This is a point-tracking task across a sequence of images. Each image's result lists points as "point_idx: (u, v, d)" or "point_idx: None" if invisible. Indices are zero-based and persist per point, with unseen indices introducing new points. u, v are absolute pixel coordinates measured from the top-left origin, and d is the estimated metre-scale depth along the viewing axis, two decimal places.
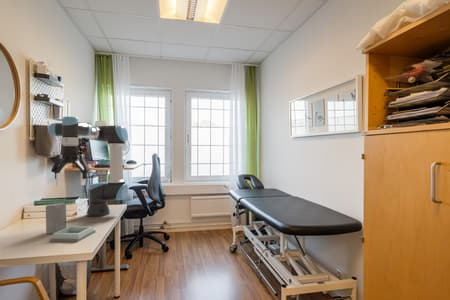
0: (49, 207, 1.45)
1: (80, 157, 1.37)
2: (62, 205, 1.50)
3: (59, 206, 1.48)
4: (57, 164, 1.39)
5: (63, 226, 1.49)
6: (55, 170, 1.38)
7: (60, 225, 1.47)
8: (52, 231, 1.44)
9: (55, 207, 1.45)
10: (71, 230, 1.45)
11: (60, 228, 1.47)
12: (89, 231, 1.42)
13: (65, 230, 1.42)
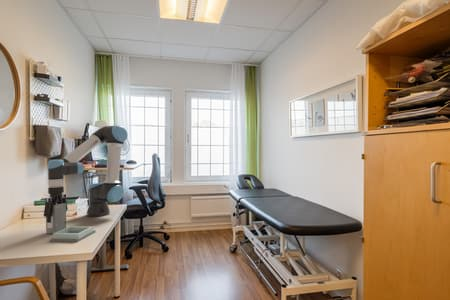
0: None
1: None
2: (62, 205, 1.50)
3: (59, 206, 1.48)
4: None
5: (63, 226, 1.49)
6: None
7: (60, 225, 1.47)
8: (53, 230, 1.44)
9: (55, 207, 1.45)
10: (71, 230, 1.45)
11: (60, 228, 1.47)
12: (89, 231, 1.42)
13: (65, 230, 1.42)
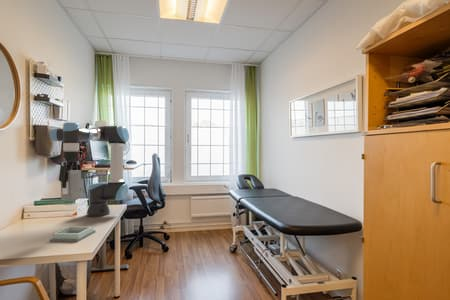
0: None
1: None
2: (77, 171, 1.41)
3: (74, 172, 1.39)
4: None
5: (78, 194, 1.41)
6: None
7: (75, 192, 1.39)
8: (68, 197, 1.36)
9: (70, 172, 1.36)
10: (71, 230, 1.45)
11: (76, 195, 1.39)
12: (89, 231, 1.42)
13: (65, 230, 1.42)
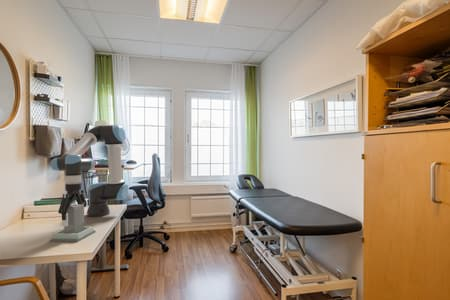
0: None
1: None
2: (80, 206, 1.41)
3: (78, 207, 1.39)
4: (81, 199, 1.47)
5: (81, 229, 1.41)
6: None
7: (79, 227, 1.39)
8: None
9: (74, 208, 1.37)
10: None
11: (79, 231, 1.39)
12: (89, 231, 1.42)
13: None
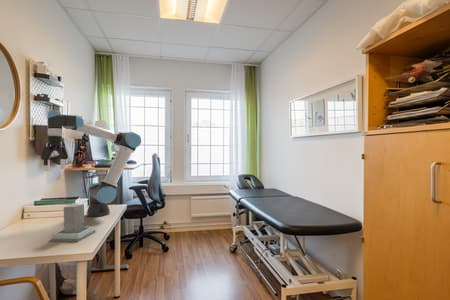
0: (67, 208, 1.37)
1: None
2: (80, 206, 1.41)
3: (78, 207, 1.39)
4: None
5: (81, 229, 1.41)
6: None
7: (79, 227, 1.39)
8: None
9: (74, 208, 1.37)
10: None
11: (79, 231, 1.39)
12: (89, 231, 1.42)
13: None
